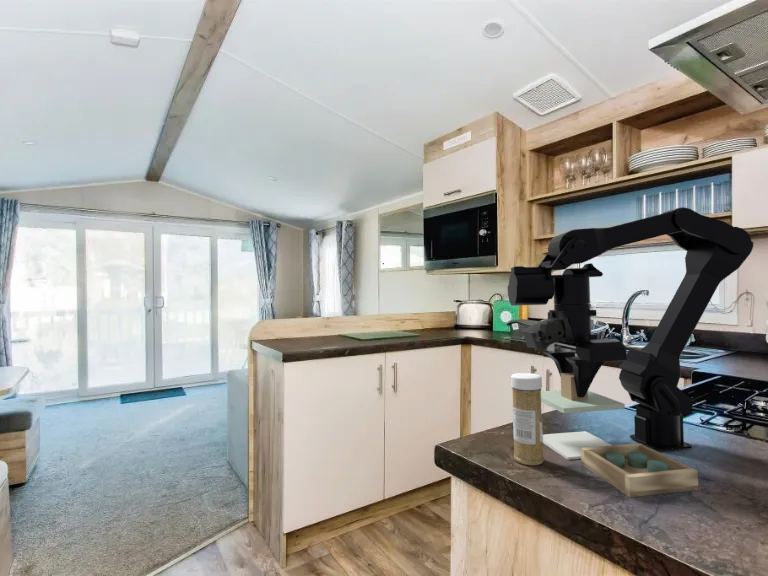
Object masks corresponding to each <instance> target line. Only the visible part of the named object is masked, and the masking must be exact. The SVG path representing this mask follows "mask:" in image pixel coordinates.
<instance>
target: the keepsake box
mask: <svg viewBox="0 0 768 576" xmlns="http://www.w3.org/2000/svg"><path fill="white" fill-rule="evenodd" d="M611 445H612V446H600V447H588V448H581V459H580V464H581V466H583V468H586V469H587V470H588V471H590V472H591V473H593V474H595V475H596V476H598V477H599V478H600V479H602V480H603V481H605V482H606V483H608V484H609V485H611V486H613V487H614V488H615V489H617V490H619V491H620V492H622V494H624V495H625V496H627V497H628V498H636V497H643V496H646V497H647V496H653V495H664V494H672V493H673V494H674V493H682V492H683V493H684V492H690V491H691V492H692V491H699V470H697V469H695V468H693V467H690V466H688V465H687V464H684V463H683V462H680V461H678V460H676V459H674V458H672V457H670V456H668V455H666V454H664V453H661V452H660V451H657V450H655V449H653V448H651V447H648V446H646V445H644V444H642V443H640V442H638V443H637V442H636V443H627V444H626V443H625V444H614V445H613V444H611Z"/></svg>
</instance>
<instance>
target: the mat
mask: <svg viewBox="0 0 768 576" xmlns="http://www.w3.org/2000/svg"><path fill="white" fill-rule="evenodd" d="M543 444H544V445H545V446H546V447H548V448H550V449H551V450H553V451H554V452H555V453H556V454H558V455H560V456H561V457H563V458H564V459H565V460H568V461H570V460H581V448H588V447H600V446H612V445H613V444H612V443H611V444H610V443H608V442H606V441H605V440H604V439H601V438H599V437H597V436H596V435H594V434H592V433H590V432H588V431H586V430H585V431H574V432H572V431H571V432H559V433H557V432H556V433H548V434H544V433H543Z"/></svg>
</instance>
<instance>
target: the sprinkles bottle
mask: <svg viewBox="0 0 768 576" xmlns="http://www.w3.org/2000/svg"><path fill="white" fill-rule="evenodd" d="M510 378H511V379H510V385H511V387H512V388H511V390H512V425H513V427H512V429H513V444H514V447H513V449H514V451H513V452H514V454H513V458H514V460H515V461H516V462H517V463H519V464H521V465H526V466H539V465H542V464H543V462H544V461H545V457H544V448H543V446H544V445H543V444H544V443H543V435H544V432H543V420H542V419H543V416H542V415H543V413H542V402H541V391H542V387H543V383H542V382H543V381H542V376H541V375H540V374H537V373H532V372H518V373H512V374H511V376H510Z"/></svg>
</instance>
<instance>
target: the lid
mask: <svg viewBox="0 0 768 576" xmlns="http://www.w3.org/2000/svg"><path fill="white" fill-rule="evenodd" d="M541 404H544V405H546V406H548V407H550V408H552V409H554V410H556V411H558V412H560V413H562V414H573V413H575V414H576V413H588V412H602V411H614V410H625V409H626V407H625V405H626V404H625V403H624V402H620V401H617V400H615V399H612V398H609V397H607V396H605V395H602V394H599V393H596V392H594V391H591V390H588V391H587V393H586V395H585V397H578V396H577V392H576V387H575V379H574V372H573V373H561V377H560V389H557V390H545V391H544V390H541Z"/></svg>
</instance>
